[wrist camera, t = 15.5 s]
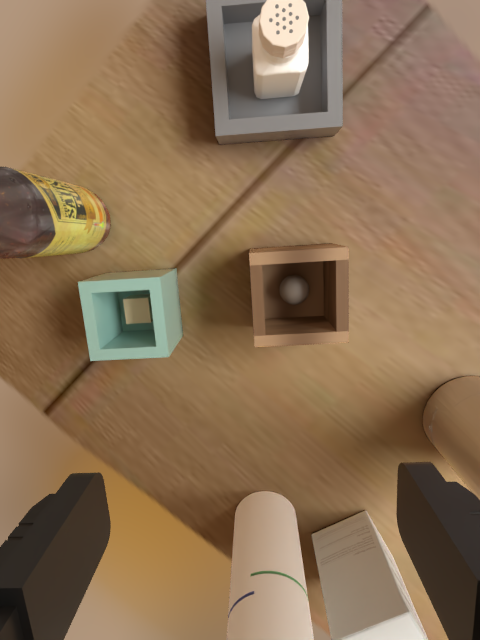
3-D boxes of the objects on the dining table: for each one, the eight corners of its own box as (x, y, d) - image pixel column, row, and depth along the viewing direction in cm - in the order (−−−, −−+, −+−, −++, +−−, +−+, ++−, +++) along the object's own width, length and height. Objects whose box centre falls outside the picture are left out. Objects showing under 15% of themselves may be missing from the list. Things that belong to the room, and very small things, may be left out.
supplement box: (337, 578, 47) (365, 701, 35) (309, 532, 46) (329, 643, 34) (393, 555, 46) (444, 674, 34) (367, 507, 45) (410, 612, 33)
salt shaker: (254, 101, 35) (254, 56, 26) (251, 51, 34) (250, -15, 25) (299, 97, 35) (316, 51, 26) (298, 46, 34) (314, -21, 25)
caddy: (332, 2, 34) (341, -24, 30) (334, 135, 36) (342, 126, 33) (210, 14, 34) (205, -11, 31) (219, 144, 37) (215, 136, 33)
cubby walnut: (331, 243, 38) (348, 247, 32) (332, 322, 40) (348, 342, 33) (250, 248, 39) (249, 253, 32) (254, 326, 41) (254, 347, 34)
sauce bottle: (125, 213, 38) (-5, 200, 19) (91, 264, 40) (-63, 300, 20) (69, 170, 38) (-126, 111, 18) (36, 224, 39) (-178, 221, 20)
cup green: (176, 268, 39) (160, 277, 33) (183, 335, 41) (168, 357, 34) (108, 272, 40) (77, 282, 33) (117, 338, 41) (90, 360, 35)
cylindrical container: (222, 510, 46) (186, 832, 22) (272, 480, 45) (294, 783, 20) (258, 553, 47) (262, 902, 23) (308, 524, 46) (368, 860, 22)
